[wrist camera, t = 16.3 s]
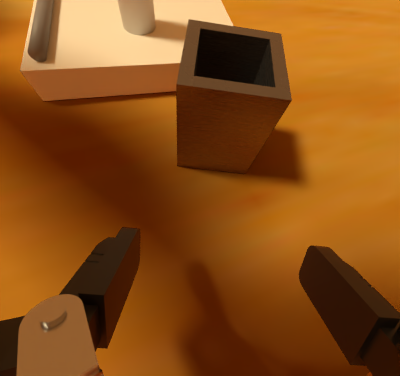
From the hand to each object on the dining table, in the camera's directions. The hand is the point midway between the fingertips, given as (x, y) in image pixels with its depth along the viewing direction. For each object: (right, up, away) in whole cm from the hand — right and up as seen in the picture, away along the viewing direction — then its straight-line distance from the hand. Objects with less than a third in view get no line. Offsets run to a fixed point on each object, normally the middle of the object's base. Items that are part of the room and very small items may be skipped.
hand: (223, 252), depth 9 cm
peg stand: (-7, +18, +13) cm, 24 cm away
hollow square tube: (0, +7, +9) cm, 12 cm away
